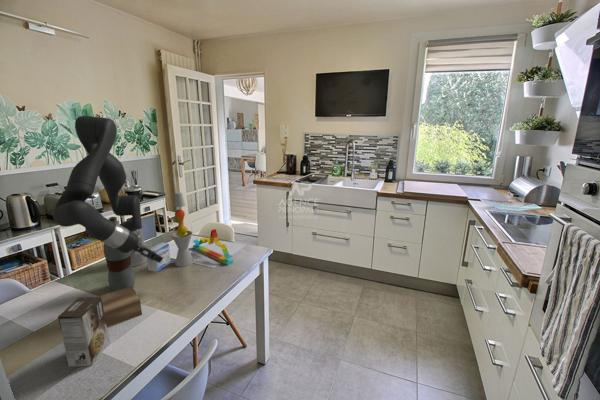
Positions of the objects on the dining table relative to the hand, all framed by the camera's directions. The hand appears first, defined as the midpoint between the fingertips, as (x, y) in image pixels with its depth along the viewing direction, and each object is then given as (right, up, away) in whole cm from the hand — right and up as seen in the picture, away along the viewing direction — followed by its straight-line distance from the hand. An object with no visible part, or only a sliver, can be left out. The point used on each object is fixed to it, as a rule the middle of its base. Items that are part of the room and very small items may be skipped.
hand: (156, 257), depth 111 cm
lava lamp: (-1, -8, +28) cm, 30 cm away
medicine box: (0, -4, +2) cm, 5 cm away
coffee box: (-5, -23, -28) cm, 37 cm away
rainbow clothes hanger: (+10, -7, +37) cm, 39 cm away
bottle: (-17, -14, +6) cm, 23 cm away
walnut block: (-8, -18, -10) cm, 22 cm away
